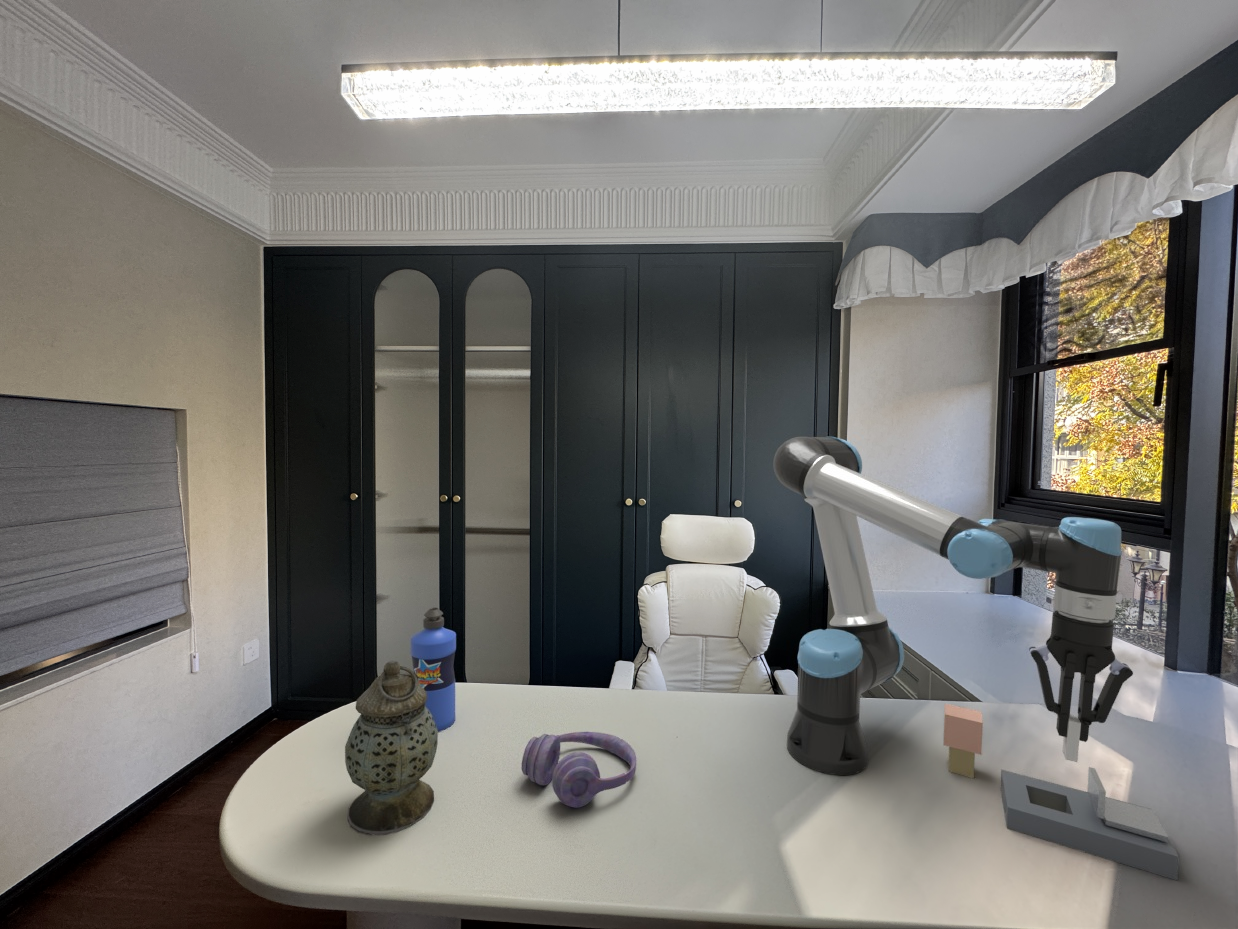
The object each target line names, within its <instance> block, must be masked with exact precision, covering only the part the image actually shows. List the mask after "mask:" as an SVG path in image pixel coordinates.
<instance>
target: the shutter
mask: <svg viewBox="0 0 1238 929" xmlns="http://www.w3.org/2000/svg"><path fill="white" fill-rule="evenodd" d="M1087 775H1088V776H1087V791H1086V792H1087V793H1088V796H1089V798H1090V800H1091V803H1092V805H1093V808H1094V810H1095V813H1096V815H1097V817H1098V818H1101V819H1103V820H1104V822H1105V824H1106V825H1108V826H1111V827H1115V828H1118V829H1122V830H1126V831H1129V832H1133V833H1136V834H1140V835H1143V836H1147V837H1150V838H1154V839H1157V840H1161V841H1164V842H1168V839H1169V835H1168V834H1167V832H1166V831H1165V829H1164V827H1163V825H1162V824H1161V822H1160V820H1159V818H1158V816H1157V815H1156V813H1155V811H1154V810H1153V809H1152V808H1150V809H1147V808H1148V807H1146V808H1143V807H1144V806H1143V807H1139V806H1140V805H1139V806H1136V805H1137V804H1135V805H1132V804H1133V803H1131V804H1128V803H1129V802H1127V803H1124V802H1125V801H1124V802H1120V801H1121V800H1120V801H1117V800H1118V799H1116V800H1113V799H1114V798H1112V799H1109V798H1110V797H1108V798H1106V797H1107V796H1106V794H1107V791H1106V789H1105V787H1104V785H1103V782H1102V780H1101V778H1100V776H1099V774H1098V771H1097V769H1096V768H1094V767H1090V766H1088V774H1087ZM1151 809H1152V810H1151Z"/></svg>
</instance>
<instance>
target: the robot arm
mask: <svg viewBox="0 0 1238 929" xmlns="http://www.w3.org/2000/svg"><path fill="white" fill-rule="evenodd" d="M772 463H773V464H772V465H773V471H774V475H775V476H776V478H777V479H778V481H779V482H780V483H781V484H782V485H783V486H785V488H787V489H789V490H791V491H793V492H794V493H797V494H799V495H802V496H803V499H804V501H805V502H806V503H808V504H809V505H810V506H811V507H812V509H813V513H814V518H815V524H816V528H817V534H818V539H819V542H820V548H821V553H822V557H823V563H824V567H825V572H826V573H825V574H826V577H827V581H828V588H829V591H830V595H831V596H830V597H831V601H832V607H833V610H834V612H833V613H834V615H833V616H832V618H831V619H830V621H829V627H830V628H826V629H822V628H819V629H814V630H812V631H809V632H807V633H806V634H804V635H803V636H802V638H801V639H800V641H799V646H798V653H797V664H798V668H797V702H796V703H797V704H796V711H795V714H794V716H793V718H792V721H791V724H790V726H789V729H788V731H787V737H786V738H787V739H786V740H787V741H786V748H787V750H788V752H789V754H790V755H791V756H792V757H793V759H794V760H796V761H798V762H799V763H800V764H802V765H804V766H805V767H807V768H810V769H812V770H814V771H817V772H821V773H823V774H824V773H825V774H830V775H839V776H840V775H841V776H848V775H854V774H857V773H861V772H862V771H864V770H865V769H866V767H867V766H868V762H869V750H868V749H869V748H868V745H867V742H866V739H865V738H866V737H865V735H864V732H863V728H862V724H861V721H860V712H861V710H860V709H861V694H863V693H866V692H867V691H870V690H871V689H873V688H875V687H877V686H879V685H881V684H885V683H887V682H889V681H891V680H892V679H893V678H894V676H896V675H897V674H898V673H899V672H900V670H901V669H902V667H903V664H904V661H905V650H904V645H903V643H902V640H901V638H900V636H899V634H897V633H895V632H894V631H893V629H892V628H891V627H889V621H888V619H887V616H885V615H884V614H883V613H882V612H880V611H879V610H878V608H877V604H876V600H875V595H874V589H873V586H872V581H871V577H870V572H869V568H868V563H867V557H866V554H865V553H866V552H865V550H864V545H863V539H862V535H861V531H860V526H859V520H858V518H861V520H862V519H863V520H865V521H867V522H869V523H870V524H872V525H874V526H877V527H879V528H882V529H884V530H886V531H888V532H890V533H892V534H894V535H896V536H898V537H900V538H902V539H904V540H906V541H909V542H911V543H912V544H915V545H917V546H919V547H921V548H923V549H925V550H927V551H929V552H931V553H933V554H936V555H937V556H940V557H941V558H944V559H946V560H948V561H949V563H950V565H951V566H952V567H953V568H954V569H955V570H956V571H957V572H958V573H959V574H961V575H962V576H965V577H967V578H970V579H974V580H975V579H977V580H983V579H991V578H996V577H1000V576H1001V575H1003V574H1004V573H1006V572H1009V571H1012V570H1014V569H1017V568H1023V569H1029V570H1030V569H1031V570H1036V571H1042V572H1045V573H1053V574H1055V582H1054V583H1055V587H1054V596H1053V597H1054V598H1053V604H1052V606H1053V608H1054V609H1055V611H1053V612H1052V618H1051V630H1050V636H1049V638H1048V639H1047V640H1046V642H1045V644H1044V645H1041V646H1037V647H1036V646H1031V647H1029V648H1028V651H1029V653H1030V656H1031V657H1032V659H1033V661H1034V662H1035V663H1036V668H1037V673H1038V677H1039V682H1040V687H1041V693H1042V696H1043V701H1044V705H1045V707H1046V709H1047V711H1048V712H1051V713H1054V714H1056V715H1057V718H1056V728H1055V729H1056V731H1057V733H1058V736H1060V737H1063V742H1062V754H1063V757H1064V759H1065V760H1066V761H1070V762H1074V763H1078V759H1079V758H1078V757H1079V746H1080V742H1084V743H1086V742H1087V741H1088V740H1089V731H1090V726H1091V725H1092V723H1095V722H1096V723H1099V724H1104V723H1105V722H1106V721H1107V719H1108V717H1109V715H1110V712H1111V710H1112V708H1113V706H1114V704H1115V703H1116V702H1115V701H1116V699H1117V697H1118V695H1119V693H1120V691H1121V690H1122V686H1123V685H1124V683H1125V682H1126V681H1127V680H1128V679H1130V678H1131V677H1132V676H1133V675H1134V671H1133V670H1132V669H1131V668H1130V667H1129V665H1128V664H1126V663H1124V662H1123V663H1122V662H1121V661H1120V660H1118V659H1117V658H1116V654H1115V652H1114V650H1113V639H1114V631H1115V630H1114V629H1115V623H1114V622H1113V621H1112V620H1113V619H1115V618H1116V608H1117V594H1118V585H1119V576H1120V571H1121V570H1120V568H1121V560H1122V556H1123V551H1122V529H1121V526H1120V525H1118V524H1117V523H1115V522H1113V521H1109V520H1104V519H1099V518H1090V517H1079V516H1078V517H1077V516H1067V517H1064V518H1062V519H1061V521H1060V525H1059V526H1055V527H1053V526H1045V525H1039V524H1038V525H1036V524H1031V523H1022V522H1016V521H1011V520H1006V519H1001V518H1000V519H994V518H993V519H992V518H982V519H980V520H978V521H977V522H976V521H974V520H972V519H969V518H967V517H964V516H962V515H960V514H958V513H956V512H954V511H951V510H948V509H947V508H944V507H942V506H939V505H937V504H935V503H931V502H929V501H928V500H927V501H926V500H924V499H922V498H920V497H918V496H915V495H913V494H910V493H908V492H905V491H903V490H900V489H898V488H895V487H893V486H890V485H888V484H886V483H883V482H881V481H879V480H876V479H874V478H871V477H869V476H867V475H865V474H862V471H863V461H862V458H861V454H860V452H859V451H858V449H857V447H855V446H854V445H853V444H852V443H851V442H849V441H847V440H845V439H843V438H838V437H834V436H819V437H818V436H796V437H792V438H790V439H788V440H786V441H784V442H783V443H782V444H781V445H780V446H779V447H778V448H777V449H776V452H775V455H774V457H773V462H772ZM1049 654H1050V655H1052V657H1053V658H1054V660H1055V661H1056V662H1057V664H1058V665H1059V667H1060V677H1059V678H1060V679H1059V687H1058V698H1057V699H1058V700H1057V702H1056V701H1055V696H1054V692H1053V688H1052V683H1051V678H1050V674H1049V670H1048V665H1047V663H1046V662H1047V661H1048V660H1049ZM1107 667H1109V668H1108V669H1109V673H1108V676H1107V678H1106V680H1105V682H1104V684H1103V686H1102V689H1101V691H1100V693H1099V695H1098V697H1097V699H1096V702H1095V704H1094V706H1093V697H1094V689H1095V688H1094V686H1095V684H1096V677H1097V676H1096V675H1097V674H1099V673H1101V672H1102V671H1103V670H1105V669H1106V668H1107ZM1075 673H1079V674H1080V682H1079V693H1078V702H1077V703H1078V705H1077V715H1075V714H1071V708H1072V707H1071V705H1072V696H1073V695H1072V694H1073V687H1074V686H1073V685H1074V684H1073V683H1074V680H1075Z"/></svg>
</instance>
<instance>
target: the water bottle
mask: <svg viewBox="0 0 1238 929" xmlns="http://www.w3.org/2000/svg"><path fill="white" fill-rule="evenodd" d="M423 615H424V616H423V617H424V618H423V620H422V621H423V622H422V624H423V626H422V627H423V629H422V630H420V631H418V632H416V633H414V634H412V635H411V637H410V655H411V660H412V661H411V662H412V669H413V670H412V671H413V673H414V674H415V675H416V677H417V680H418V684H419V685H420V686H421V687H422V688H423V689H424V690H425V691H426V692H427V700H426V702H425V706H426V707H427V709H428V710H429V711H430V713H431V715H432V716H433V719H434V721H435V724H436V727H437V730H438V733H439V732H442V731H444V730H446V729H447V730H448V729H449V728H450V727H451V726H454V724H455V722H456V678H455V677H456V676H455V670H454V661H455V656H456V654H455V653H456V650H457V633H456V632H455V631H454V630H451V629H448V628H445V627H444V625H445V618H444V617H443V616H442V615H444V612H443V611H442V610H440V608H438V607H430V608H428V610H427V611H426V612H425V613H424V614H423Z"/></svg>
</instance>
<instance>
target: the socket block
mask: <svg viewBox="0 0 1238 929" xmlns="http://www.w3.org/2000/svg"><path fill="white" fill-rule="evenodd" d="M999 788H1000V793H1001V794H1000V795H1001V801H1002V808H1003V813H1004V819H1005V826H1006V829H1009V830H1011V831H1014V832H1018V833H1021V834H1025V835H1028V836H1031V837H1035V838H1038V839H1042V840H1044V841H1048V842H1051V843H1055V844H1057V845H1060V846H1064V847H1067V848H1071V849H1072V850H1073V849H1074V850H1077V851H1080V852H1084V853H1085V854H1086V853H1087V854H1090V855H1093V856H1097V857H1100V858H1103V859H1107V860H1110V861H1113V862H1116V863H1120V864H1123V865H1126V866H1129V867H1133V868H1134V869H1135V868H1136V869H1139V870H1142V871H1146V872H1149V873H1152V874H1154V875H1159V876H1160V877H1161V876H1162V877H1165V878H1168V879H1172V880H1175V881H1178V873H1179V862H1180V861H1179V858H1180V856H1179V855H1178V853H1177V851H1176V849H1175V847H1174V846H1173V844H1172V842H1171V840H1170V839H1169V838H1168V842H1164V841H1161V840H1157V839H1154V838H1150V837H1147V836H1143V835H1140V834H1136V833H1133V832H1129V831H1126V830H1122V829H1118V828H1115V827H1111V826H1108V825H1106V824H1105V822H1104V820H1103V819H1101V818H1098V817H1097V815H1096V813H1095V810H1094V808H1093V805H1092V803H1091V800H1090V798H1089V796H1088V793H1087V791H1085V790H1081V789H1078V788H1074V787H1069V786H1066V785H1062V784H1059V783H1056V782H1055V783H1054V782H1052V781H1051V782H1050V781H1047V780H1044V779H1043V780H1042V779H1040V778H1036V777H1031V776H1028V775H1024V774H1020V773H1017V772H1013V771H1009V770H1005V769H1000V787H999ZM1106 798H1109V799H1113V800H1117V801H1120V802H1124V803H1128V804H1132V805H1136V806H1139V807H1143V808H1147V809H1151V810H1153V809H1152V808H1150V807H1146V806H1142V805H1137V804H1134V803H1131V802H1127V801H1123V800H1119V799H1116V798H1112V797H1108V796H1106Z"/></svg>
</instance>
